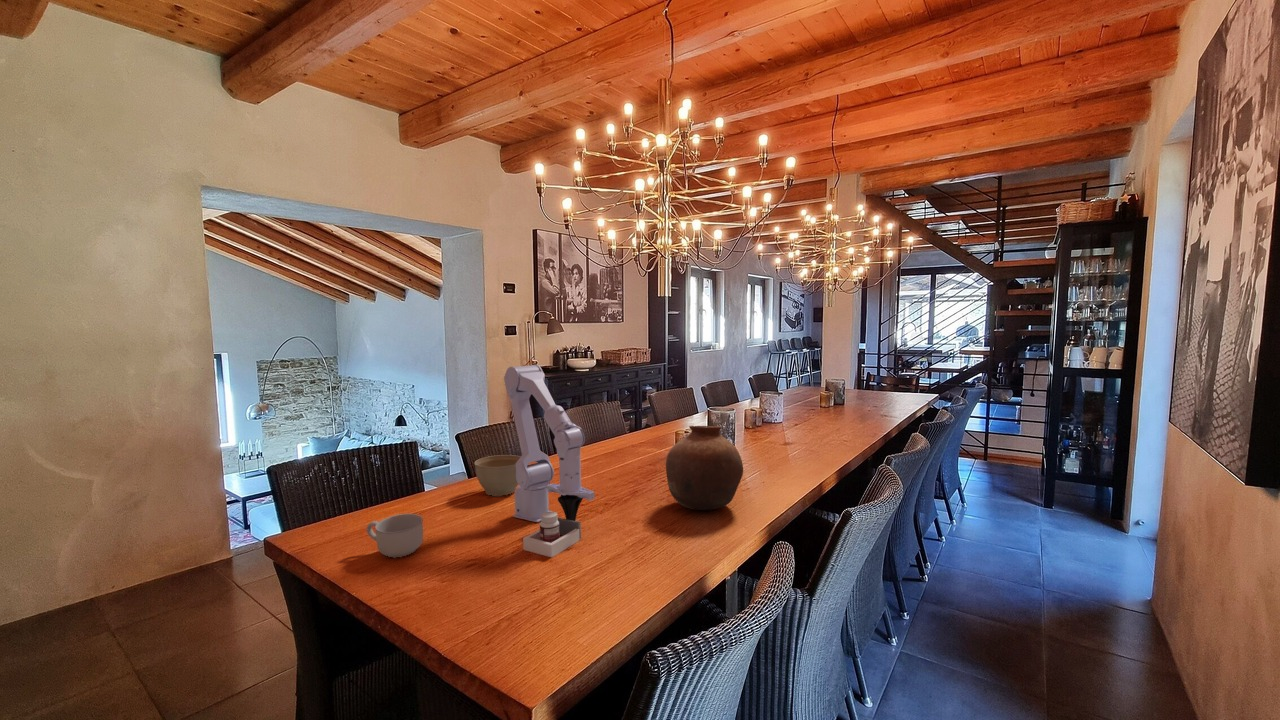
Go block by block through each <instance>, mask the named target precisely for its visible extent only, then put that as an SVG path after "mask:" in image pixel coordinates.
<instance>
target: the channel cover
mask: <svg viewBox="0 0 1280 720" xmlns="http://www.w3.org/2000/svg"><path fill="white" fill-rule="evenodd" d="M557 520H558V521H559V535H562V536H564V535H566V534H568V533H569V532H571V531H573V530H575V529H579V540H580V539H582V528H581V527H582V526H581V525H582V523H581V522H582V521H581V520H578V521H577V520H575V521H573V520H568V519H566V518H562V517H558V518H557Z"/></svg>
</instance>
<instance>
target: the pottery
mask: <svg viewBox="0 0 1280 720" xmlns="http://www.w3.org/2000/svg"><path fill="white" fill-rule="evenodd" d="M689 429H690V430H691V433H690V434H688V435H687V436H685V437H684V438H681V439H680V440H679V441H677V442H676V443H675V444H674V445H673V446H672V447H671V448H670V450H668V453H667V456H666V462H665V471H666V479H667V486H668V489H669V492H670V494H671V496H672V497H673V499H674V500H675V501H676V502H677V503H678V504H679V505H681V506H682V507H684V508H687V509H690V510H697V511H711V510H717V509H721V508H724V507H726V506H727V505H728V504H731V502H732V501H733V499H734V497H735V495H736V492H737V490H738V487H739V485H740V483H741V481H742V479H743V474H744V464H743V460H742V457H741V454H740V452H739V450H738V449H737V447H736V446H735V445H734V444H733V443H732V442H731V441H730V440H729V439H727V438H726V437H724V436H723V435H722V434H721V433H720V431H721V429H723V427H722V426H721V425H719V426H718V425H689Z"/></svg>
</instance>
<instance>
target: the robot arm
mask: <svg viewBox="0 0 1280 720" xmlns="http://www.w3.org/2000/svg"><path fill="white" fill-rule="evenodd" d="M545 377H546V375H545V373H544V371H543V369H542V367H541V366H540V365H539V364H532V365H531V364H530V365H524V366H523V365H521V366H509V367H507V369H506V371H505V374H504V376H503V380H504V385H505V389H506V395H507V397H509V400H510V404H511V409H512V415H513V418H514V424H515V428H516V432H517V437H518V441H519V446H520V451H521V456H520V459H519V460H518V461H517V462H516V464H515V465H516V480H517V483H518V485H517V487H516V489H515V492H514V514H513V517H514V518H518V519H521V520H525V521H530V522H533V523H541V515H542V514H543V513H545V512H554V511H552V510H549V509H550V508H549V506H550V504H549V493H557V494H558V495H559V496H558V497H557V502H558V503H559V504H560V506H561V508H562V510H563V513H564V516H565V519H568V520H573V521H577V520H576V519H577V514H578V510H579V507H580V506H581V503H582V502H583V499H585V500H587V501H589V502H590V501H592V500H594V499H595V496H596V495H595V493H596V492H595V491H594V490H590V489H588V488H587V487H586V488H585V487H583V486H582V475H581V474H582V471H581V470H582V463H581V461H582V460H581V456H582V455H581V447H583V445H584V444H585V442H586V438H585V437H586V436H585V433H584V430H583V429H582V427H580V426H579V425H576V424H575V423H573V422H572V421H571V419H570V417H569V416H568V414H567V412H566V411H565V409H564V407H562V406H561V405H558V404H556V403H555V401H554V399H553V397H552V394H551V393H550V390H549V389H548V387H547V385H546V384H545V381H546V379H545ZM531 395H532V396H533V397H534V398H535V400H536V401H537V402H538V404H539V406H540V407H541V408H542V409H543V411H544V413H543V418H544V420H545V422H546V424H547V425H548V427H549V429H550V431H551V432H552V434H553V436H554V438H553V444H554V446H555V448H556V449H555V450H556V454H557V457H558V464H559V466H558V467H559V468H558V469H559V472H558V474H559V476H558V477H559V483H551V481H552V480H553V479H554V476H555V471H554V469H555V468H554V466H553V465H552V463H551V461H550V458H549V455H548V454H546V453H544V452H543V451H541V449H540V443H539V439H538V434H537V430H536V425H535V420H534V417H533V411H532V408H531V404H530V398H531Z"/></svg>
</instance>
